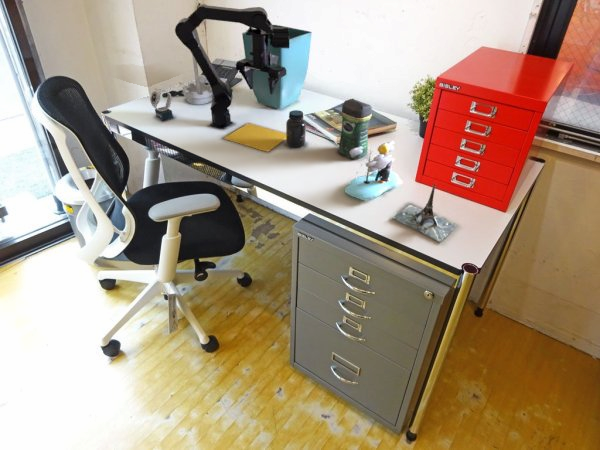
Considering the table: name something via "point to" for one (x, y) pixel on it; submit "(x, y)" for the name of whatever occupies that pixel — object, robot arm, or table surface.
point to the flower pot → (288, 58)
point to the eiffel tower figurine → (426, 220)
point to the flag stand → (197, 89)
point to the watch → (161, 112)
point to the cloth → (257, 137)
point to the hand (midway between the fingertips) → (261, 91)
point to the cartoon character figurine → (374, 175)
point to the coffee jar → (354, 127)
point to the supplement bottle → (295, 130)
